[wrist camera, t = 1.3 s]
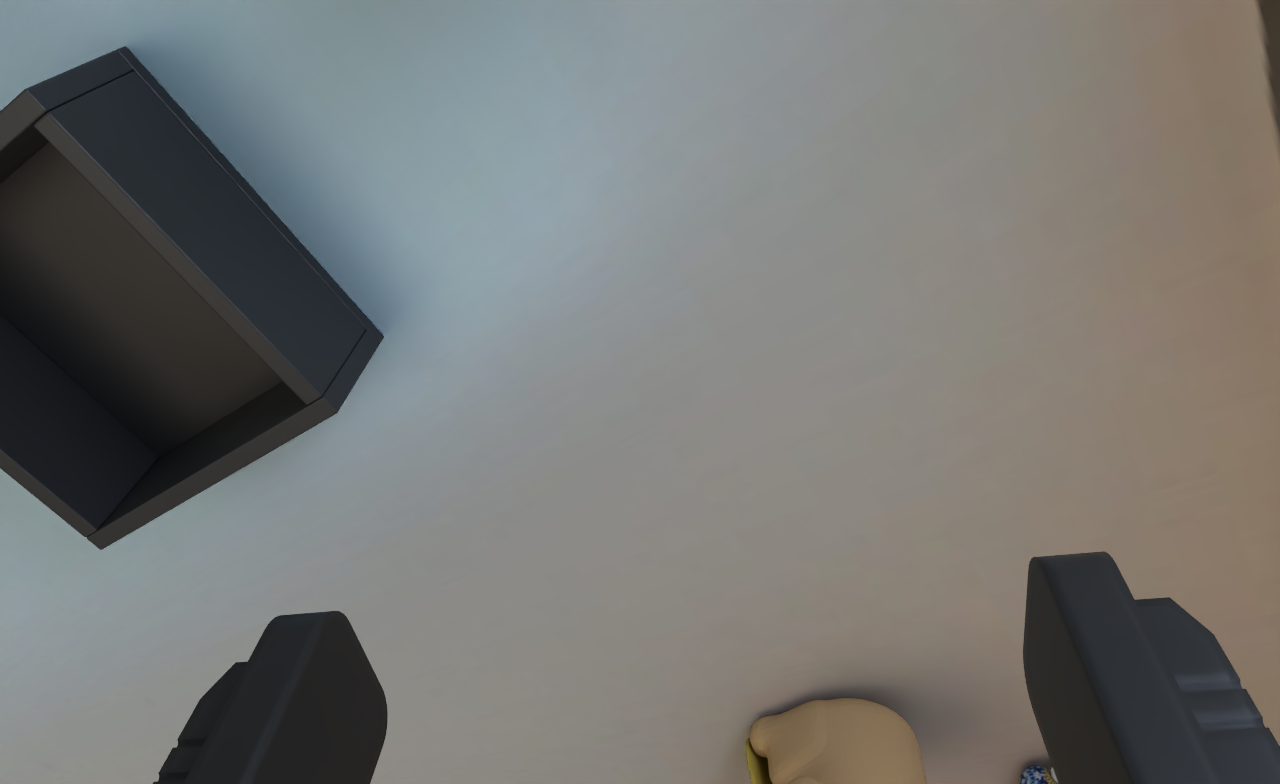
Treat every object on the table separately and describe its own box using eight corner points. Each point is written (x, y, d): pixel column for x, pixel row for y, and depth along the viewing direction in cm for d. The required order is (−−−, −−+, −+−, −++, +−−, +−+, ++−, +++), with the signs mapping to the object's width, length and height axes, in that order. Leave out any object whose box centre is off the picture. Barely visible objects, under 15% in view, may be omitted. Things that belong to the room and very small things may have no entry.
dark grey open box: (-91, 234, 37) (-209, 298, 32) (126, 45, 32) (25, 88, 27) (168, 467, 43) (100, 550, 38) (384, 336, 38) (337, 413, 33)
